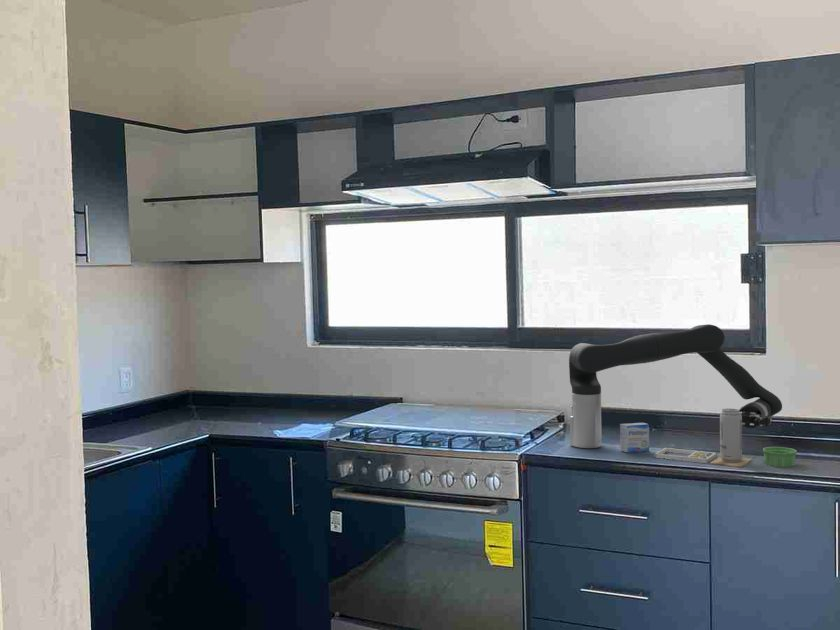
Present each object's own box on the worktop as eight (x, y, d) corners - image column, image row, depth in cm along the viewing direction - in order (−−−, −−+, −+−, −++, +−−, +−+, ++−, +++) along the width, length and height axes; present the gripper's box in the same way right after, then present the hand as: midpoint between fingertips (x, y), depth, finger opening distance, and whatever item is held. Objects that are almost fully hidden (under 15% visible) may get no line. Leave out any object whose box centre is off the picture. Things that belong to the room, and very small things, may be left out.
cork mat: (710, 464, 242) (710, 462, 242) (720, 456, 251) (720, 455, 251) (742, 467, 237) (742, 466, 237) (751, 460, 246) (751, 458, 246)
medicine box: (626, 453, 258) (626, 425, 258) (619, 450, 262) (619, 423, 262) (649, 451, 260) (649, 424, 260) (642, 448, 264) (642, 421, 264)
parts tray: (654, 457, 251) (654, 453, 251) (665, 451, 260) (665, 447, 260) (706, 463, 243) (706, 458, 242) (716, 456, 251) (716, 452, 251)
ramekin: (757, 465, 240) (757, 450, 240) (770, 460, 246) (770, 445, 246) (789, 469, 233) (789, 454, 233) (801, 464, 240) (801, 449, 240)
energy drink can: (718, 458, 247) (718, 408, 247) (739, 458, 246) (739, 408, 246) (722, 462, 241) (722, 411, 241) (743, 463, 240) (743, 411, 240)
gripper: (730, 401, 269) (716, 408, 256) (776, 404, 261) (765, 412, 248) (730, 424, 270) (716, 432, 256) (776, 428, 262) (765, 437, 248)
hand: (740, 422), depth 252 cm, fingers open, 8 cm apart
